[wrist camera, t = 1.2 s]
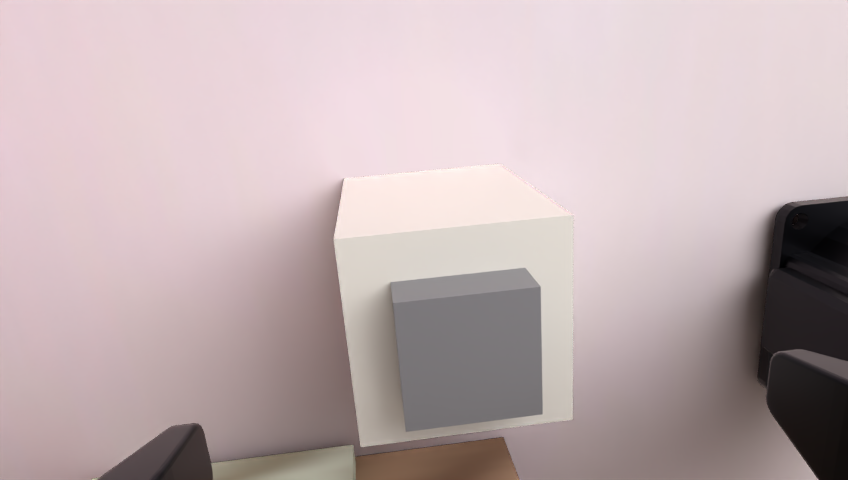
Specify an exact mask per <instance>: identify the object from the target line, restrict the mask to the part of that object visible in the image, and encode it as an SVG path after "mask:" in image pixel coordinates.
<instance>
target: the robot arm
mask: <svg viewBox="0 0 848 480" xmlns="http://www.w3.org/2000/svg"><path fill="white" fill-rule="evenodd" d="M797 214H798V220H797V222H796V223H795V224H794V225H792V221H793V218H794V217H795V216H796V215H797ZM758 382H759V383H760V385H762V386H763V387H764V388H765V389H767V394H766V400H767V405H768V408H769V410H770V412H771V414H772V415H773V417H774V418H775V420H776V421H777V422H778V424H779V425H780V427H781V428H782V429H783V431H784V432H785V433H786V435H787V436H788V438H789V439H790V440H791V442H792V443H793V445H794V446H795V447H796V449H797V450H798V452H799V453H800V454H801V456H802V457H803V459H804V460H805V461H806V463H807V464H808V466H809V467H810V468H811V470H812V471H813V473H814V474H815V475H816V477H817V478H818V480H848V197H838V198H829V199H819V200H809V201H800V202H792V203H788V204H786V205H785V206H783V207H782V208H781V209H780V210H779V212H778V213H777V216H776V219H775V227H774V236H773V245H772V254H771V262H770V271H769V278H768V286H767V295H766V304H765V313H764V321H763V330H762V339H761V350H760V359H759V367H758ZM97 480H213V471H212V465H211V461H210V456H209V452H208V447H207V443H206V439H205V434H204V431H203V429H202V427H201V425H199V424H198V423H192V424H183V425H175V426H171V427H169V428H168V429H167V430H165V431H164V432H162V433H161V434H160V435H158V436H157V437H155V438H154V439H153V440H151V441H150V442H149V443H147V444H146V445H144V446H143V447H142V448H140V449H139V450H137V451H136V452H135V453H133V454H132V455H130V456H129V457H128V458H126V459H125V460H124V461H122V462H121V463H119V464H118V465H117V466H115V467H114V468H112V469H111V470H110V471H108V472H107V473H105V474H104V475H103V476H101V477H100V478H99V479H97Z"/></svg>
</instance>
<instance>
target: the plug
mask: <svg viewBox="0 0 848 480" xmlns="http://www.w3.org/2000/svg"><path fill="white" fill-rule="evenodd" d="M334 247H335V254H336V262H337V270H338V278H339V285H340V293H341V301H342V308H343V316H344V324H345V332H346V339H347V347H348V355H349V362H350V370H351V378H352V386H353V393H354V401H355V409H356V417H357V424H358V432H359V440H360V447H367V446H375V445H383V444H390V443H398V442H406V441H414V440H421V439H429V438H437V437H444V436H452V435H460V434H467V433H475V432H483V431H491V430H498V429H506V428H514V427H521V426H529V425H537V424H544V423H552V422H560V421H568V420H573V214H571V213H570V212H569V211H567V210H566V209H564V208H563V207H561V206H560V205H559V204H557V203H556V202H554V201H553V200H552V199H550V198H549V197H547V196H546V195H544V194H543V193H542V192H540V191H539V190H537V189H536V188H534V187H533V186H532V185H530V184H529V183H527V182H526V181H525V180H523V179H522V178H520V177H519V176H517V175H516V174H515V173H513V172H512V171H510V170H509V169H507V168H506V167H505V166H503V165H502V164H491V165H480V166H469V167H459V168H448V169H438V170H427V171H416V172H406V173H395V174H385V175H374V176H363V177H353V178H344V182H343V187H342V193H341V199H340V205H339V211H338V217H337V222H336V228H335V234H334Z"/></svg>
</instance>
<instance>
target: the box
mask: <svg viewBox="0 0 848 480" xmlns="http://www.w3.org/2000/svg"><path fill="white" fill-rule="evenodd" d="M211 465H212V471H213V480H519V478H518V475H517V472H516V470H515V467H514V464H513V462H512V459H511V456H510V454H509V451H508V448H507V446H506V443H505V441H504V438H503V437H502V438H494V439H486V440H479V441H471V442H464V443H456V444H448V445H441V446H433V447H426V448H418V449H411V450H403V451H395V452H388V453H380V454H373V455H365V456H357V457H355V453H354V446H353V445H346V446H339V447H331V448H323V449H316V450H308V451H300V452H293V453H285V454H277V455H270V456H262V457H254V458H246V459H239V460H231V461H223V462H216V463H211ZM97 479H99V478H93V479H91V480H97Z"/></svg>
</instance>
